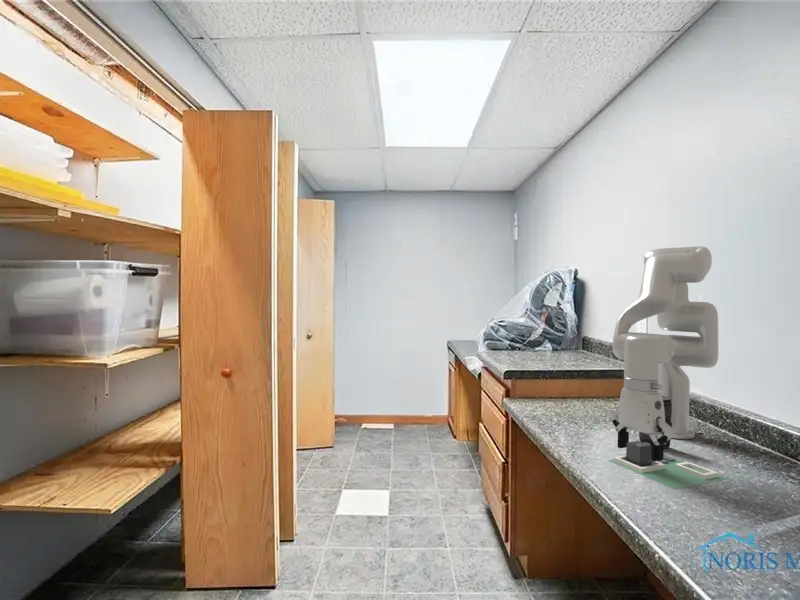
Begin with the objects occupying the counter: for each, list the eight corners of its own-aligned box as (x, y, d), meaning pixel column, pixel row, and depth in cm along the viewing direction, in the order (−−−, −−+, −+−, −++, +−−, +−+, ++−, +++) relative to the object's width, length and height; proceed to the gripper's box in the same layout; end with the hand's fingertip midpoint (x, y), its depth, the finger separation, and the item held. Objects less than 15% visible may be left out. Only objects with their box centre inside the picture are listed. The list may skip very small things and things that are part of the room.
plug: (637, 460, 111) (638, 438, 111) (651, 466, 107) (652, 443, 107) (626, 462, 110) (626, 440, 110) (639, 468, 106) (640, 445, 106)
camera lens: (643, 442, 130) (644, 392, 130) (674, 449, 124) (675, 397, 124) (634, 448, 124) (635, 396, 124) (666, 456, 119) (667, 401, 119)
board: (657, 456, 118) (657, 448, 118) (728, 483, 101) (729, 473, 101) (607, 464, 111) (607, 456, 111) (674, 494, 94) (675, 484, 94)
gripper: (684, 391, 102) (683, 464, 102) (622, 378, 118) (621, 441, 118) (662, 393, 99) (660, 468, 99) (601, 379, 115) (600, 444, 115)
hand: (639, 453), depth 108 cm, fingers open, 9 cm apart
